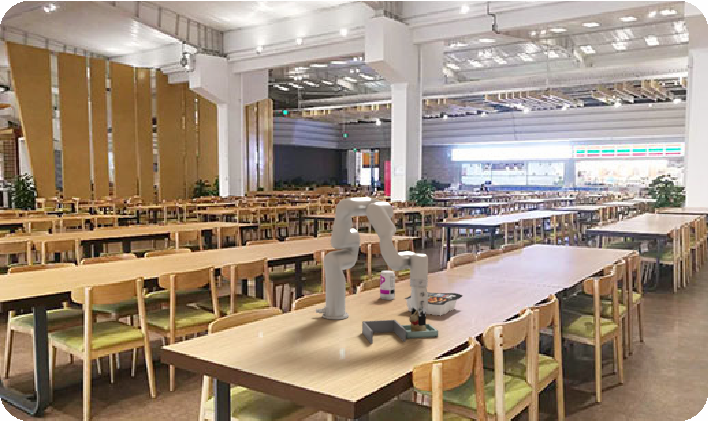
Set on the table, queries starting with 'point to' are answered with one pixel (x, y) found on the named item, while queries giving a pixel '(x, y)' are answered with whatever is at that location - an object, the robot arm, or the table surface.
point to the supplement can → (387, 285)
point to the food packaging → (438, 302)
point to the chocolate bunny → (416, 323)
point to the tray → (421, 332)
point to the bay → (382, 328)
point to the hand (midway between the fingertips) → (418, 322)
